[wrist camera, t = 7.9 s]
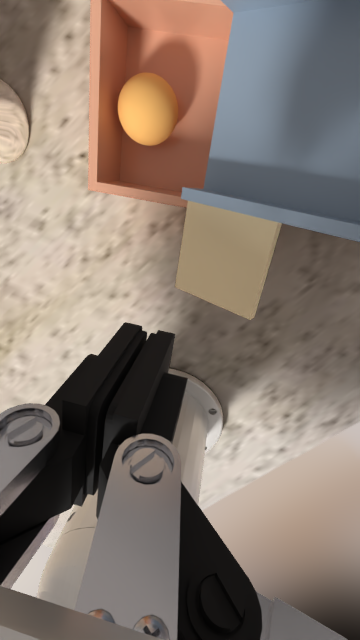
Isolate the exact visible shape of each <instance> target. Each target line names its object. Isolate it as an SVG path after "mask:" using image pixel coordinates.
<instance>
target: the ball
mask: <svg viewBox="0 0 360 640" xmlns="http://www.w3.org/2000/svg"><path fill="white" fill-rule="evenodd" d="M118 115H119V119H120V122H121V125H122V127H123V128H124V130H125V132H126V133H127V134H128V135H129V136H130V137H131V138H132V139H133V140H134V141H136V142H138V143H140V144H143V145H149V146H151V145H157V144H160V143H162V142H163V141H165V140H166V139H167V138H168V137H169V136H170V135H171V134H172V132H173V130H174V128H175V126H176V123H177V119H178V103H177V99H176V96H175V94H174V91H173V89H172V88H171V86H170V85H169V84H168V83H167V81H165V80H164V79H163V78H162V77H160V76H158V75H156V74H153V73H139V74H137V75H135V76H133V77H131V78H130V79H129V80H128V81H127V82H126V83H125V84H124V86H123V88H122V90H121V92H120V95H119V99H118Z"/></svg>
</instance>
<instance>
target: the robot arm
mask: <svg viewBox="0 0 360 640" xmlns="http://www.w3.org/2000/svg"><path fill="white" fill-rule="evenodd" d="M174 338H175V334H173V333H168V332H164V331H160V330H158V332H157V334H154V333H151V334H150V336H149V337H148V339H147V332H145V331H142V326H139V325H135V324H130V323H126V322H125V323H124V324H123V325H122V326H121V328H120V329H119V330H118V331H117V333H116V334H115V335H114V336H113V338H112V339H111V340H110V341H109V343H108V344H107V345H106V346H105V348H104V349H103V350H102V351H101V353H100V354H99V355H98V356H97V355H93V354H90V355H88V356H87V357H86V358H85V359H84V360H83V362H82V363H81V364H80V365H79V366H78V367H77V369H76V370H75V371H74V372H73V373H72V374H71V375H70V377H69V378H68V379H67V380H66V381H65V382H64V384H63V385H62V386H61V387H60V388H59V389H58V391H57V392H56V393H55V394H54V395H53V396H52V397H51V399H50V400H49V401H48V402H47V403H46V404H45V405H42V404H31V403H29V404H23V405H18V406H15V407H12V408H10V409H7V410H6V411H4V412H2V413H1V414H0V640H347V639H346V638H344V637H342V636H340V635H339V634H337V633H335V632H334V631H332V630H330V629H329V628H327V627H325V626H324V625H322V624H320V623H319V622H317V621H315V620H314V619H312V618H310V617H308V616H307V615H305V614H303V613H302V612H300V611H298V610H297V609H295V608H293V607H292V606H290V605H288V604H286V603H285V602H283V601H281V600H280V599H278V598H276V597H274V598H273V600H272V601H271V600H269V599H268V598H266V597H264V596H263V595H261V594H259V593H257V592H256V591H255V589H254V587H253V585H252V584H251V582H250V580H249V578H248V577H247V575H246V574H245V572H244V571H243V570H242V568H241V567H240V565H239V564H238V562H237V561H236V559H235V558H234V557H233V555H232V554H231V552H230V551H229V549H228V548H227V547H226V545H225V544H224V543H223V541H222V539H221V538H220V537H219V535H218V534H217V532H216V531H215V529H214V528H213V526H212V525H211V524H210V522H209V521H208V519H207V518H206V516H205V515H204V514H203V512H202V511H201V509H200V508H199V506H198V502H199V494H200V486H201V478H202V470H203V462H204V454H205V453H206V452H208V451H209V450H210V449H211V448H213V447H214V445H215V444H216V443H217V442H218V440H219V438H220V436H221V433H222V427H223V413H222V408H221V405H220V403H219V401H218V399H217V397H216V396H215V395H214V393H213V392H212V391H211V390H210V389H209V388H208V387H207V386H206V385H205V384H204V383H203V382H201V381H200V380H198V379H197V378H195V377H194V376H191V375H189V374H187V373H185V372H182V371H178V370H175V369H169V365H170V360H171V355H172V349H173V344H174ZM146 339H147V341H146ZM73 504H74V505H75V506H74V508H73V510H72V512H71V514H70V516H69V518H68V520H67V522H66V524H65V526H64V528H63V530H62V532H61V534H60V536H59V538H58V540H57V542H56V544H55V546H54V549H53V551H52V553H51V555H50V557H49V559H48V561H47V563H46V566H45V568H44V570H43V573H42V576H41V580H40V583H39V588H38V593H37V598H36V597H32V596H29V595H26V594H23V593H20V592H17V591H14V590H11V587H12V586H13V584H14V583H15V581H16V580H17V579H18V577H19V576H20V574H21V573H22V571H23V570H24V569H25V567H26V566H27V564H28V563H29V561H30V560H31V559H32V557H33V556H34V554H35V553H36V552H37V550H38V549H39V547H40V546H41V544H42V543H43V542H44V540H45V539H46V537H47V536H48V534H49V533H50V532H51V530H52V529H53V527H54V526H55V524H56V522H57V520H58V518H59V514H60V513H62V512H64V511H67V510H69V509H71V507H72V505H73Z"/></svg>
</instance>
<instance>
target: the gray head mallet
mask: <svg viewBox="0 0 360 640" xmlns="http://www.w3.org/2000/svg"><path fill="white" fill-rule="evenodd" d="M221 1H222V2H223V3H224V4H225V5H226V6H227V7H228V8H229V9H230V10H231V11H232V12H233V19H232V24H231V30H230V36H229V42H228V48H227V54H226V59H225V65H224V71H223V77H222V83H221V89H220V95H219V100H218V106H217V112H216V118H215V124H214V130H213V136H212V141H211V147H210V153H209V159H208V165H207V171H206V177H205V182H204V188H203V189H199V188H187V187H182V194H181V199H184V200H188V203H187V210H186V217H185V223H184V230H183V236H182V243H181V249H180V256H179V263H178V269H177V276H176V282H175V287H176V288H178V289H180V290H183V291H185V292H187V293H189V294H192V295H194V296H196V297H199V298H201V299H203V300H205V301H208V302H210V303H212V304H214V305H217V306H219V307H221V308H224V309H226V310H228V311H230V312H233V313H235V314H237V315H239V316H242V317H244V318H246V319H249V320H251V319H253V318H254V317H255V314H256V310H257V307H258V304H259V300H260V297H261V293H262V290H263V287H264V283H265V280H266V276H267V273H268V269H269V266H270V263H271V259H272V256H273V252H274V249H275V246H276V242H277V239H278V235H279V232H280V228H281V225H282V223H283V224H287V225H291V226H295V227H299V228H303V229H308V230H312V231H316V232H320V233H324V234H328V235H332V236H337V237H341V238H345V239H349V240H353V241H357V242H360V0H221Z"/></svg>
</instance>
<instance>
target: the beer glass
mask: <svg viewBox="0 0 360 640" xmlns="http://www.w3.org/2000/svg"><path fill="white" fill-rule="evenodd" d="M28 138H29V123H28V118H27V114H26V111H25V108H24V106H23V104H22V102H21V100H20V98H19V97H18V95H17V94H16V92H15V91H14V90H13V89H12V88H11V87H10V86H9V85H8V84H7V83H5V82H4V81H3V80H1V79H0V164H6V163H10V162H13V161H15V160H16V159H18V158H19V157H20V156H21V155H22V154H23V152H24V150H25V148H26V146H27V143H28Z"/></svg>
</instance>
